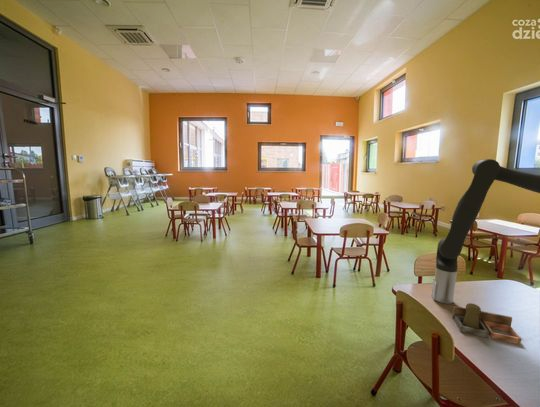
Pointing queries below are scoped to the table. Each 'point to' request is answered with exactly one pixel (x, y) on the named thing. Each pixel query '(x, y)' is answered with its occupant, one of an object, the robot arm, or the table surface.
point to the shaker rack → (488, 325)
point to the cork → (472, 316)
